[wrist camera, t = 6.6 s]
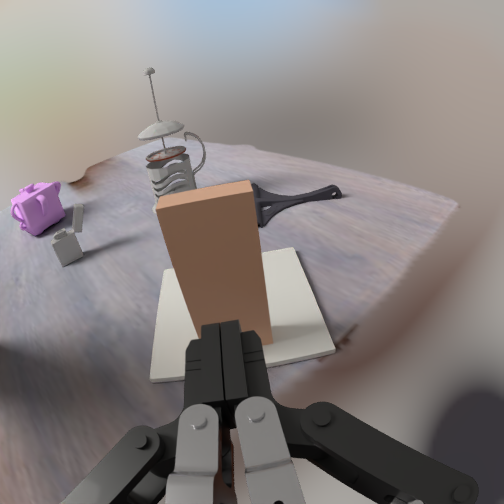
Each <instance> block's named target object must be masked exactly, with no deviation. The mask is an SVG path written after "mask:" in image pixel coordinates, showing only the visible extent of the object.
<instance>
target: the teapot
mask: <svg viewBox="0 0 504 504" xmlns="http://www.w3.org/2000/svg"><path fill="white" fill-rule="evenodd" d="M60 187H61V184H60V182H52V183H38V184H36V185H34V184H30V185H28V186H26V187H25V188H24V189H25V190H24V189H23V188H21V189H20V190H19V191H20V193H21V194H19V195H18V196H16V197H15V198H13V199H12V200H11V201H12V204H13V205H12V207H11V215H12V217H13V218H14V219H16V220H18V221H20V223H21V224H20V228H21V230H26V231H27V232H29V233H31V234H32V235H34V236H36V235H39V234H41V233H42V232H43V230H45V229H46V228H48V227H49V226H51V225H52V224H55V223H57V222H59V221H60V219H61V218H63V217H64V216H66V215H65V213H64V210H63V208H62V205H61V202H60V200H59V197H58V194H59V192H60ZM14 209H15V212H16V214H17V216H18V217H17V216H16V215H15V214H14Z"/></svg>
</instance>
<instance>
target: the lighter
mask: <svg viewBox="0 0 504 504" xmlns="http://www.w3.org/2000/svg"><path fill="white" fill-rule="evenodd" d="M83 210H84V206H83V205H82V204H74V211H73V227H72V229H73V230H70V231H68V232H66V230H65V228H63V229H61V230H60V231H58V232H56V233H55V235H54V236H53V238H54V239H53V240H51V244H52V246H53V248H54V251H55V253H56V255H57V257H58V259H59V261H60V263H61V265H62V267H64V266H66V265H68V264H70V263H71V262H73V261H75V260H77V259H79V258H81V257H83V256H84V254H83V252H82V250H81V248H80V245H79V243H78V241H77V238H76V236H75V234H74V232H82V222H83Z"/></svg>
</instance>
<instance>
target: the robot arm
mask: <svg viewBox="0 0 504 504" xmlns="http://www.w3.org/2000/svg"><path fill="white" fill-rule="evenodd" d="M236 426H237V430H238V435H239V440H240V445H241V450H242V454H243V459H244V463H245V477H246V482H247V487H248V491H249V495H250V500H251V504H306V503H305V500H304V497H303V493H302V490H301V487H300V484H299V480H298V477H297V474H296V471H295V467H294V464H293V462H292V460H291V457H293V458H303V459H307V460H308V461H310V462H311V463H313V464H314V465H316V466H317V467H319V468H320V469H322V470H323V471H325V472H326V473H328V474H329V475H331V476H333V477H334V478H336V479H337V480H339V481H340V482H342V483H344V484H345V485H347V486H348V487H350V488H352V489H353V490H355V491H357V492H358V493H360V494H362V495H364V496H365V497H367V498H369V499H371V500H372V501H374V502H376V503H378V504H474V503H475V502H476V500H477V497H478V485H477V483H476V481H475V480H474V479H473V478H472V477H470V476H468V475H466V474H463V473H461V472H459V471H457V470H455V469H453V468H450V467H448V466H446V465H444V464H442V463H440V462H438V461H436V460H434V459H431V458H430V457H428V456H426V455H424V454H422V453H420V452H418V451H416V450H414V449H412V448H410V447H408V446H406V445H404V444H402V443H400V442H399V441H397V440H395V439H393V438H391V437H389V436H388V435H386V434H384V433H382V432H380V431H378V430H377V429H375V428H373V427H371V426H370V425H368V424H366V423H364V422H363V421H361V420H359V419H357V418H355V417H354V416H352V415H351V414H349V413H347V412H345V411H344V410H342V409H340V408H339V407H337V406H335V405H334V404H332V403H328V402H317V403H313V404H311V405H310V406H308V407H307V408H306V409H295V408H288V407H284V406H282V405H280V404H279V403H277V402H276V401H275V399H274V398H273V396H272V394H271V390H270V384H269V379H268V374H267V368H266V363H265V358H264V352H263V347H262V341H261V338H260V337H259V336H258V334H257V333H256V332H255V331H254V330H251V331H245V332H242V330H241V326H240V322H239V319H237V320H231V321H225V322H221V324H220V322H219V323H212V324H206V325H202V326H201V338H200V339H193V340H191V341H190V343H189V345H188V347H187V349H186V351H185V383H184V408H183V411H182V413H181V414H180V416H179V417H178V418H177V419H176V420H175V421H173V422H171V423H169V424H167V425H164V426H161V427H159V428H156V429H152V428H151V427H148V426H137V427H134V428H132V429H131V430H130V431H128V432H127V434H126V435H125V436H124V437H123V438H122V439H121V440H120V441H119V442H118V443H117V444H116V445H115V446H114V448H113V449H112V450H111V451H110V452H109V453H108V454H107V455H106V456H105V457H104V458H103V459H102V460H101V461H100V462H99V464H98V465H97V466H96V467H95V468H94V469H93V470H92V471H91V472H90V473H89V474H88V475H87V476H86V477H85V478H84V479H83V480H82V481H81V482H80V483H79V485H78V486H77V487H76V488H75V489H74V490H73V491H72V492H71V493H70V494H69V495H68V496H67V497H66V498H65V499H64V500H63V501H62V502H61V503H60V504H157V503H158V502H159V501H160V500H161V499H162V498H163V497H164V496H165V494H166V499H165V504H237V497H236V493H235V487H234V446H233V442H232V441H231V437H230V429H234V428H236Z"/></svg>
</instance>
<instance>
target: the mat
mask: <svg viewBox="0 0 504 504" xmlns="http://www.w3.org/2000/svg"><path fill="white" fill-rule="evenodd" d="M261 254H262V261H263V269H264V276H265V284H266V291H267V299H268V307H269V315H270V322H271V330H272V338H273V344H269V345H263V346H262V347H263V352H264V358H265V363H266V368H268V367H273V366H279V365H284V364H289V363H294V362H298V361H303V360H308V359H312V358H317V357H321V356H325V355H329V354H333V353H335V346H334V344H333V341H332V339H331V336H330V334H329V331H328V329H327V326H326V324H325V321H324V319H323V316H322V314H321V312H320V309H319V307H318V304H317V302H316V299H315V297H314V295H313V292H312V290H311V287H310V285H309V283H308V280H307V278H306V276H305V273H304V271H303V269H302V266H301V264H300V261H299V259H298V257H297V255H296V252H295V250H294V248H293V247H291V248H286V249H280V250H274V251H269V252H263V253H261ZM193 339H199V338H198V336H197V333H196V330H195V328H194V325H193V322H192V319H191V317H190V314H189V311H188V308H187V306H186V303H185V300H184V297H183V294H182V291H181V288H180V285H179V283H178V280H177V277H176V274H175V271H174V268H172V269H166V270H164V274H163V280H162V286H161V293H160V299H159V306H158V313H157V320H156V327H155V335H154V343H153V351H152V360H151V370H150V381H151V382H152V383H157V382H168V381H178V380H185V351H186V349H187V347H188V345H189V343H190V341H191V340H193Z"/></svg>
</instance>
